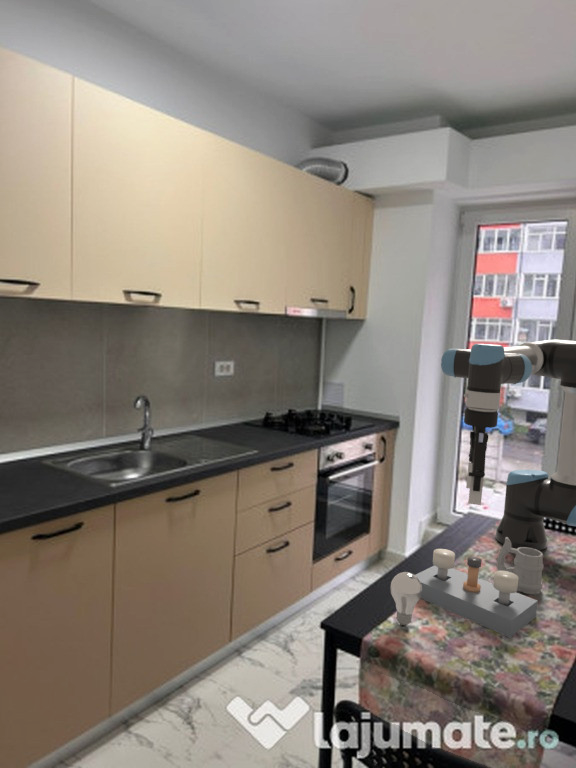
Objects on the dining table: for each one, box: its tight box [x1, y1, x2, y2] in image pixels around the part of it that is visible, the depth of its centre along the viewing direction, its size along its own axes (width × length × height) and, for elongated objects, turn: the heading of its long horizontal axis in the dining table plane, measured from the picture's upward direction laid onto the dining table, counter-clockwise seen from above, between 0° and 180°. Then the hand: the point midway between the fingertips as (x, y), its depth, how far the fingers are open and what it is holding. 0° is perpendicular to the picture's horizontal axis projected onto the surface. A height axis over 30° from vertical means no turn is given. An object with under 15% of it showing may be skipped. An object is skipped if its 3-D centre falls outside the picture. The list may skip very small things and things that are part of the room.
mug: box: [496, 537, 544, 595], centre depth 149 cm, size 8×12×12 cm, turn 53°
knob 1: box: [432, 548, 456, 581], centre depth 142 cm, size 5×5×7 cm
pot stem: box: [463, 556, 482, 593], centre depth 137 cm, size 4×4×7 cm
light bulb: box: [389, 571, 422, 627], centre depth 126 cm, size 7×7×12 cm
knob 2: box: [493, 570, 518, 607], centre depth 131 cm, size 5×5×7 cm
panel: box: [414, 564, 539, 638], centre depth 137 cm, size 14×26×4 cm, turn 45°
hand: (473, 496), depth 137 cm, fingers open, 13 cm apart
